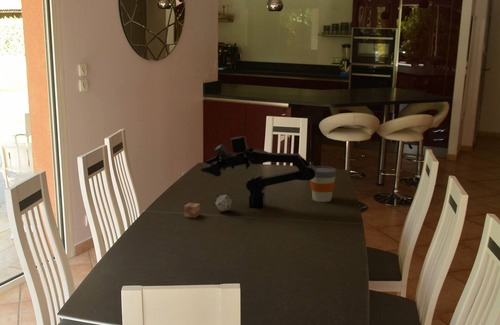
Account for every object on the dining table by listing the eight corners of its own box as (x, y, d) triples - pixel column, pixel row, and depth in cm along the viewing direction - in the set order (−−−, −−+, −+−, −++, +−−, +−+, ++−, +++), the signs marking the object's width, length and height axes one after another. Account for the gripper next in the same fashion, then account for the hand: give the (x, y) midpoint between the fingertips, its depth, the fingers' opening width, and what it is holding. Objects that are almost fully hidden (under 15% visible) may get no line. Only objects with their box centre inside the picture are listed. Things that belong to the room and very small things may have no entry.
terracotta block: (199, 214, 244) (199, 203, 243) (195, 218, 239) (195, 207, 238) (189, 213, 245) (189, 202, 244) (184, 216, 241) (184, 206, 240)
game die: (219, 219, 248) (206, 203, 246) (228, 208, 254) (215, 191, 252) (232, 214, 242) (218, 197, 240) (241, 202, 248) (227, 185, 246)
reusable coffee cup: (334, 195, 272) (335, 166, 269) (335, 203, 260) (337, 172, 257) (308, 194, 274) (309, 165, 270) (308, 202, 261) (310, 172, 258)
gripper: (234, 137, 258) (203, 143, 262) (226, 151, 241) (193, 157, 245) (240, 159, 262) (210, 164, 266) (233, 174, 245) (200, 180, 249)
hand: (203, 166), depth 256 cm, fingers open, 9 cm apart
